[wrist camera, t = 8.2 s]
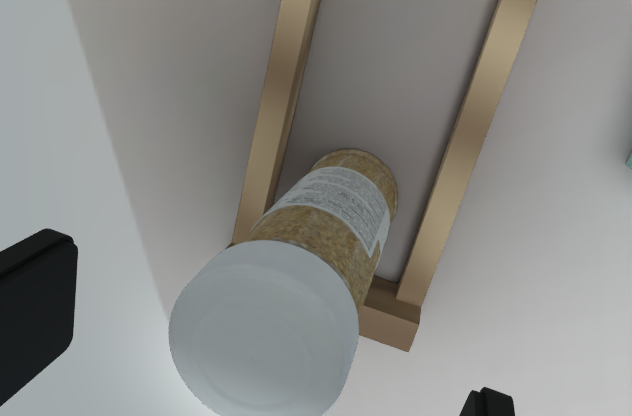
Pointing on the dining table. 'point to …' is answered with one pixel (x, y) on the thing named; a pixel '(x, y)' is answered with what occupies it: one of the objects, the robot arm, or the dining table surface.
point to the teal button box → (629, 161)
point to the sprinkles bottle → (288, 295)
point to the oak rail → (452, 179)
